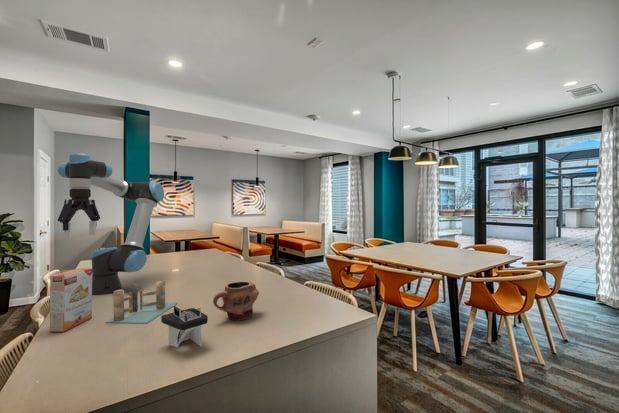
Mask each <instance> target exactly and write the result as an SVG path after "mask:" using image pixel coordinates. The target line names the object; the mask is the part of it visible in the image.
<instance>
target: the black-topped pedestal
mask: <svg viewBox="0 0 619 413" xmlns="http://www.w3.org/2000/svg"><path fill="white" fill-rule="evenodd" d="M172 308H173V312H170V313H166V314H161V315H160V316H161V323H162V324H164V325H166V326H168V346H172V347H175V348H179V347H180V344H181V342H183V341H186V340H191V341H192V340H193V341H192V342H193V343H195V342H196V343H195V344H196V345H198V346H199V345H200V346H199V347H202V345H203V344H202V342H203V340H202V326H203V325H206V324H207V323H208V320H209V319H208V318H209V317H208V315H207V314H205V313H204V312H202V307H199V308H194V307H191V308H186V309H181V308H178V307H177V306H176V305H173V307H172Z"/></svg>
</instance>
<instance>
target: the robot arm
mask: <svg viewBox="0 0 619 413" xmlns="http://www.w3.org/2000/svg"><path fill="white" fill-rule="evenodd" d="M68 159H69V160H68V161H65V162H64V161H63V162H61V163H60V164H59V165H58V167H57V172H58V174H59V175H60V177H62V178H66V179H69V188H70V189H69V197H70V198H69V199H68V198H67V199H66V198H65V199H64V202H63V206H62V208H61V211H60V213H59V216H58V218H57V222H59V223H61V224H62V230H63V239H71V238H72V222H71V220H72V219H73V217H74V216H75V214H76V213H77V211H80V210H82V211H84V213H85V214H86V216H87V217H88V219H89V224H88V228H89V229H88V230H89V232H88V235H89V236H96V235H97V227H98V226H97V223H98V221H99V220H101V216H100V214H99V213H100V212H99V210H98V208H97V206H96V200H95V199H89V198H91V196H92V192H91V191H92V190H91V188H92V187H91V186H94V187H97V188H100V189H101V190H105V191H108V192H110V193H113V195H114V196H115V197H118V198H122V199H124V200H127V201H131V202H135V203H136V204H137V205H136V207H135V210H134V214H133V217H132V220H131V223H130V227H129V229H128V232H127V234H126V235H127V236H126V239H125V242H124V243H122V244H121V245H120V246H119V248H118V246H113V247H108V248H107V247H106V248H100V249H95V250H93V251H92V252H91V269H92V295H105V294H110V293H113V291H116V290H123V288H122V287H123V286H122V282H121V279H120V276H119V273H136V272H139V271H141V270H142V269H143V268H144V266H145V265H146V262H147V253H146V252H145V248H144V246H143V245H144V242H145V237H146V234H147V231H148V227H149V224H150V220H151V216H152V214H153V211H154V208H156V207H157V206H158V202H159V203H160V202H162V201H163V200H164V199H165V190H164V188H163V186H162V184H161V183H159V182H157V181H143V182H142V181H141V182H140V181H138V182H137V181H133V182H131V181H126V180H123V179H121V180H119V179H117V178H114V177H112V174H113V167H112V165H111V164H109V163H107V162H104V161H98V160H92V159H91V155H89V154H88V153H82V152H72V153H70V154H69V157H68Z"/></svg>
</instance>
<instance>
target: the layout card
mask: <svg viewBox="0 0 619 413" xmlns="http://www.w3.org/2000/svg"><path fill="white" fill-rule="evenodd" d="M143 303H151V302H148V301H146V302H145V301H144V302H143ZM177 303H178V302H165V308H162V309H157V308H156V305H154V306H147V307H143V309H142V310H140V303H138V311H137V312H132V313H129V311H128V312H126V313H124V320H121V321H114V317H112V318H110V319H108V320H107V321H105V324H143V325H144V324H145V325H147V324H149V323H151V322H153V320H155V319H156V318H158V317H159V316H162V315H163V314H164V313H166V312H167V311H169V310H170V309H171V307H172V308H173V305H175V306H176V305H177ZM162 313H163V314H162Z"/></svg>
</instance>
